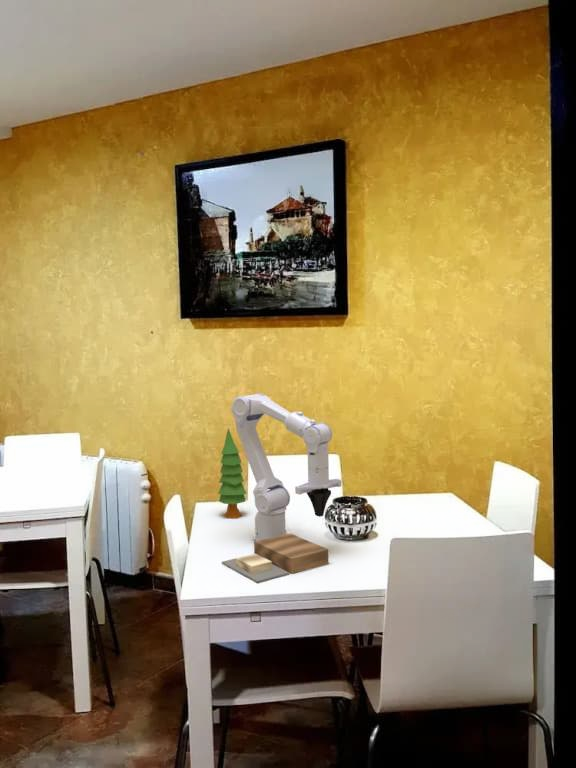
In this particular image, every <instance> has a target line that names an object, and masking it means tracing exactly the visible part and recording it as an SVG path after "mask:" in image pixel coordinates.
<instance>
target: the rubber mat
mask: <svg viewBox="0 0 576 768" xmlns="http://www.w3.org/2000/svg"><path fill="white" fill-rule="evenodd" d="M240 557H241V556H239V557H238V558H240ZM236 558H237V557H236ZM236 558H232V559H228V560H224V561H221V564H222V565H224V566H225V567H227V568H229V569H231V570H232V571H234V572H236V573H238V574H240V575H242V576H244V577H245V578H247V579H249V580H251V581H252V582H255V583H256V584H260V583H264V582H267V581H271V580H275V579H278V578H281V576H282V577H285V576H289V575H290V573H289V572H287V571H285V570H283V569H281V568H279V567H277V566H275V565H273V564H272V569H270V570H267V571H263V572H259V573H255V574H251V573H249V572H247V571H245V570H244V569H242V568H240V567H238V566H236ZM277 577H278V578H277ZM274 578H275V579H274ZM270 579H271V580H270ZM263 581H264V582H263Z"/></svg>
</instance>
